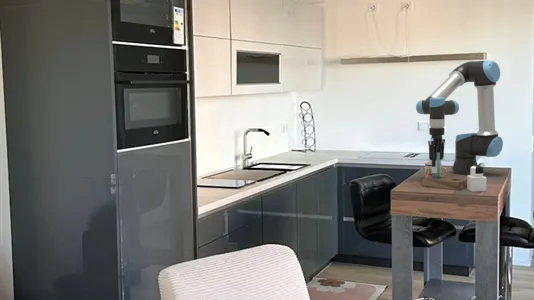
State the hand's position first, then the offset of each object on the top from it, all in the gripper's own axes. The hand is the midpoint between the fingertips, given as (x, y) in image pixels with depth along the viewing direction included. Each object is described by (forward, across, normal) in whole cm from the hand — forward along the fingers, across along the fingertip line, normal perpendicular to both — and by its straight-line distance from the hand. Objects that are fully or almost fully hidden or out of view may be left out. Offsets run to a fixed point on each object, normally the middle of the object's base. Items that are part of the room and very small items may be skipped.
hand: (436, 172), depth 323 cm
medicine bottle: (+7, +1, +23) cm, 24 cm away
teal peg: (+5, 0, 0) cm, 5 cm away
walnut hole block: (+7, 0, +6) cm, 9 cm away
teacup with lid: (+7, -16, -10) cm, 20 cm away
